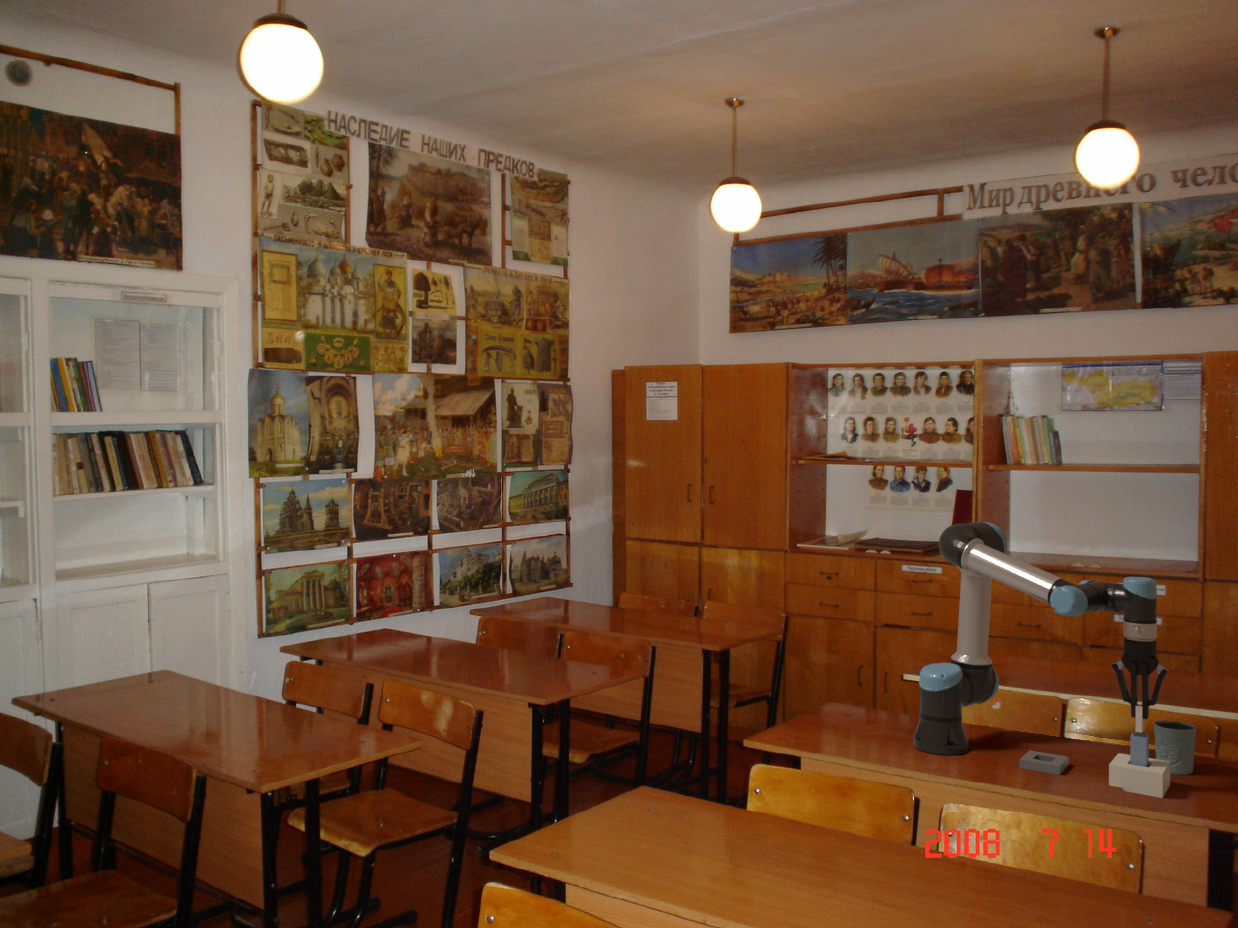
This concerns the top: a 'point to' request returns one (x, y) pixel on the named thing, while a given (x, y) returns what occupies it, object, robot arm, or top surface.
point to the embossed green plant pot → (1175, 745)
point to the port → (1140, 776)
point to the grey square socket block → (1044, 762)
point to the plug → (1139, 749)
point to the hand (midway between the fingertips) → (1139, 730)
